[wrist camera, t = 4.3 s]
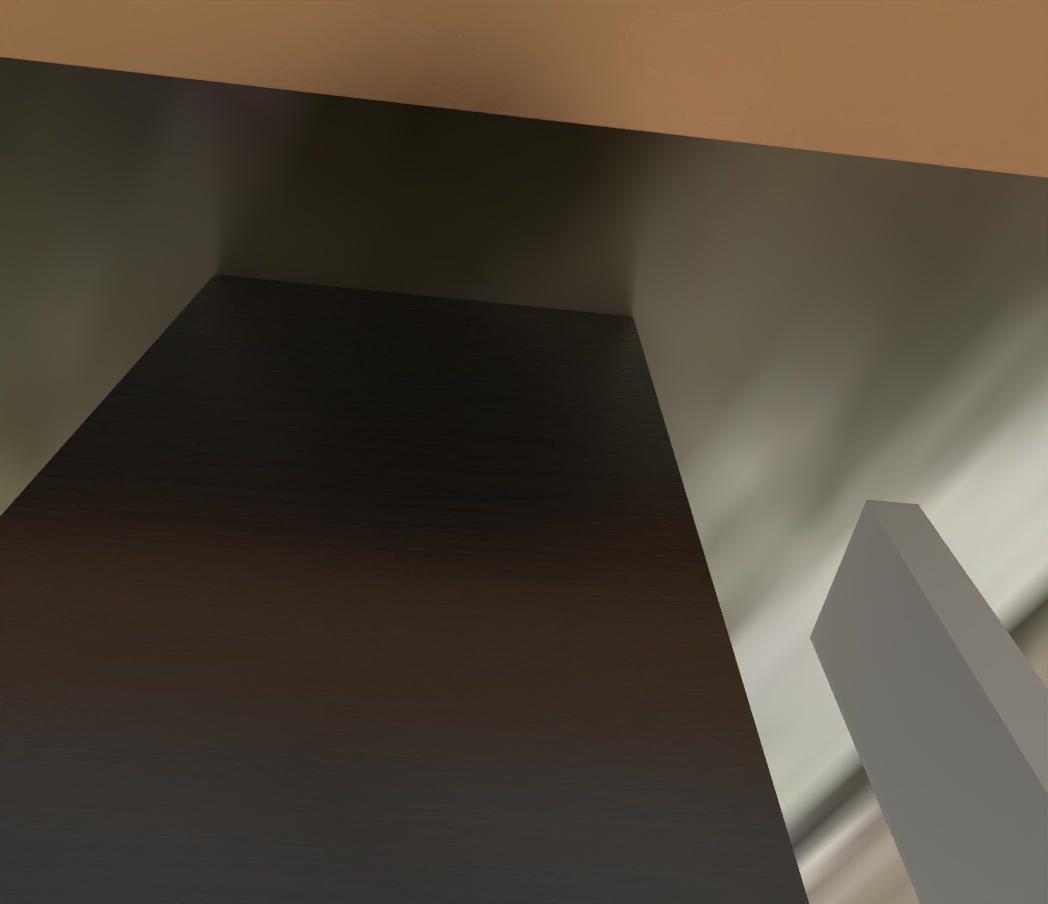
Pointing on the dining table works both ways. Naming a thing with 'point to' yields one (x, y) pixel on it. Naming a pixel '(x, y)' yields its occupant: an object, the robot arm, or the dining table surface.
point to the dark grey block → (374, 625)
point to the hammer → (614, 63)
